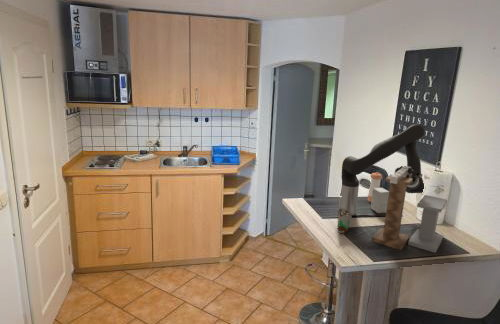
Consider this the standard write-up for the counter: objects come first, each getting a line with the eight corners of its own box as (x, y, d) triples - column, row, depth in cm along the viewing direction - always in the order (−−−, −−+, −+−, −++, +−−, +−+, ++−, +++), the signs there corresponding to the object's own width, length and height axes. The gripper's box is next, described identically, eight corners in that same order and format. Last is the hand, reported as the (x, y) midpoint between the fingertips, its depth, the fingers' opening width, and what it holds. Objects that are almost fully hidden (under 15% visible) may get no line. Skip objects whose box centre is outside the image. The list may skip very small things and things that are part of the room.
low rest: (408, 244, 167) (414, 203, 162) (417, 231, 181) (423, 193, 176) (435, 252, 160) (443, 210, 155) (442, 238, 174) (450, 199, 168)
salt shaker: (370, 197, 228) (374, 169, 223) (381, 201, 223) (385, 172, 218) (365, 200, 223) (368, 172, 218) (375, 203, 218) (379, 174, 213)
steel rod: (389, 182, 156) (390, 176, 155) (404, 171, 174) (404, 165, 174) (396, 184, 154) (397, 177, 153) (410, 172, 173) (411, 166, 172)
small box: (387, 212, 205) (390, 191, 201) (377, 213, 203) (380, 192, 200) (379, 207, 212) (382, 187, 209) (370, 208, 211) (372, 187, 208)
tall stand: (371, 240, 170) (379, 178, 161) (380, 231, 180) (388, 172, 172) (401, 250, 162) (411, 185, 153) (409, 239, 172) (418, 178, 164)
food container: (350, 236, 174) (353, 218, 171) (338, 235, 175) (340, 216, 172) (349, 226, 185) (351, 208, 183) (337, 224, 186) (339, 207, 184)
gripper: (398, 169, 187) (392, 158, 173) (426, 174, 179) (422, 164, 165) (394, 182, 186) (388, 173, 172) (423, 188, 177) (418, 178, 164)
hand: (405, 168), depth 169 cm, fingers closed on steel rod, 3 cm apart
